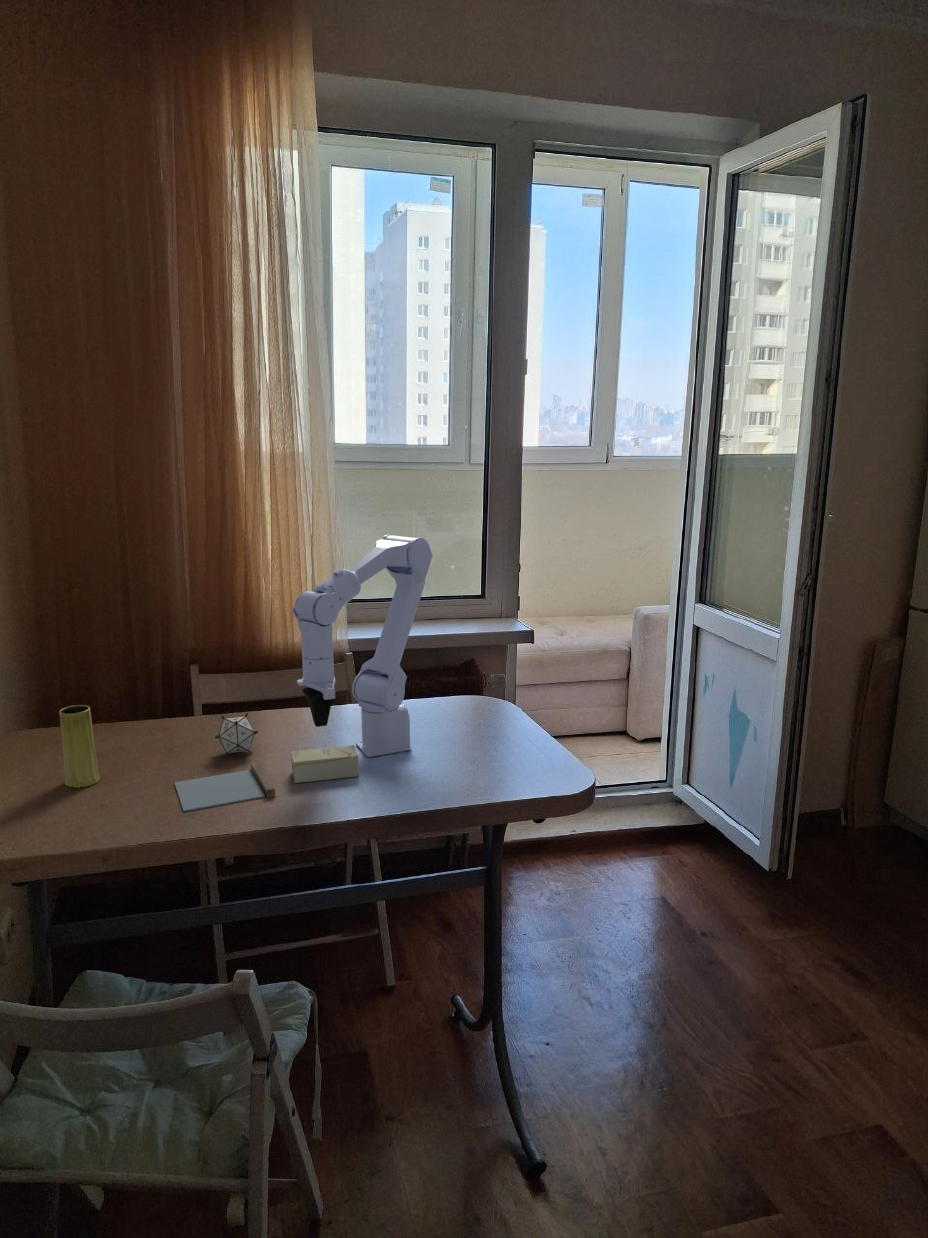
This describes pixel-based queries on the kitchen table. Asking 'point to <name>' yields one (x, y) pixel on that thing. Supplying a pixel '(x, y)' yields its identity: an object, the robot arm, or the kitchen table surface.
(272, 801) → the kitchen table surface
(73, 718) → the vase
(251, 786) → the felt mat
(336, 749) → the skincare box
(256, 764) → the walnut rail
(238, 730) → the game die
